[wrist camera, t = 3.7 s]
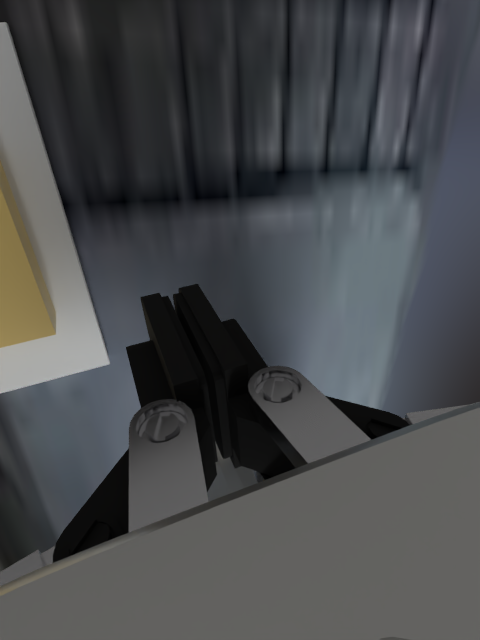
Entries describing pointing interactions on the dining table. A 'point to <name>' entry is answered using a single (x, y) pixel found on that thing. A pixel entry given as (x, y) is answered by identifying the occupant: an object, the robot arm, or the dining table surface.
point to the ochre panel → (20, 279)
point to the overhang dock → (43, 242)
